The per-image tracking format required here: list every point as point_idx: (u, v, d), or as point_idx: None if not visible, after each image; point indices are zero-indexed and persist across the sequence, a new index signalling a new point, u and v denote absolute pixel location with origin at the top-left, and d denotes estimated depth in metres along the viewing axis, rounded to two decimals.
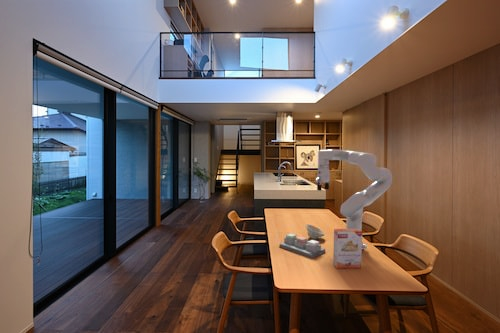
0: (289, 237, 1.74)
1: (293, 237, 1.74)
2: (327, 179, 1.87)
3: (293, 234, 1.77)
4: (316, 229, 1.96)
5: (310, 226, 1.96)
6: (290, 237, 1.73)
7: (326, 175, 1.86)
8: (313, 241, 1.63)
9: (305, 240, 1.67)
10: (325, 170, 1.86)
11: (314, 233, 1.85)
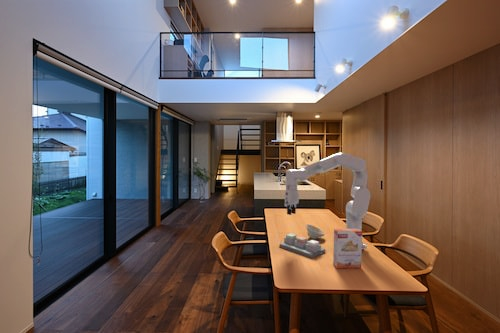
0: (289, 237, 1.74)
1: (293, 237, 1.74)
2: (295, 201, 1.74)
3: (293, 234, 1.77)
4: (316, 229, 1.96)
5: (310, 226, 1.96)
6: (290, 237, 1.73)
7: (294, 197, 1.73)
8: (313, 241, 1.63)
9: (305, 240, 1.67)
10: (293, 192, 1.72)
11: (314, 233, 1.85)
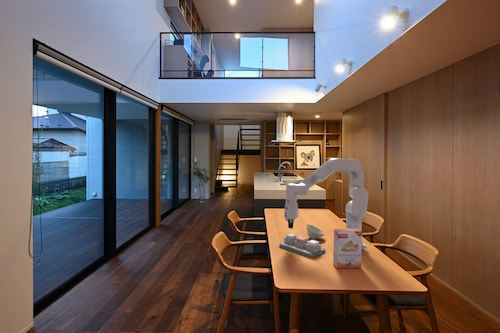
0: (289, 237, 1.74)
1: (293, 237, 1.74)
2: (295, 215, 1.74)
3: (293, 234, 1.77)
4: (316, 229, 1.96)
5: (310, 226, 1.96)
6: (290, 237, 1.73)
7: (294, 211, 1.73)
8: (313, 241, 1.63)
9: (305, 240, 1.67)
10: (293, 206, 1.72)
11: (314, 233, 1.85)
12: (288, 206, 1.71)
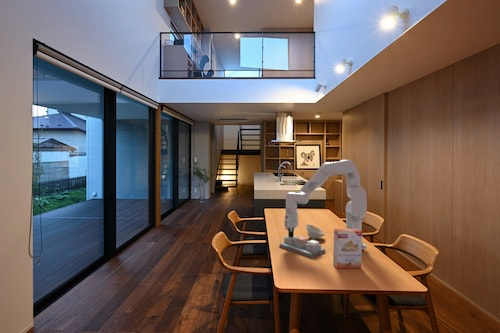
0: None
1: None
2: (295, 224, 1.74)
3: None
4: (316, 229, 1.96)
5: (310, 226, 1.96)
6: None
7: (294, 220, 1.73)
8: (313, 241, 1.63)
9: (305, 240, 1.67)
10: (293, 215, 1.73)
11: (314, 233, 1.85)
12: (288, 215, 1.71)
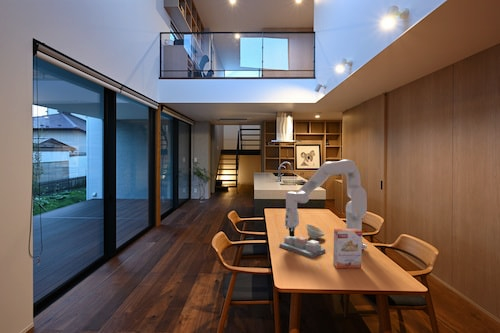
0: None
1: None
2: (296, 223, 1.74)
3: (293, 237, 1.77)
4: (316, 229, 1.96)
5: (310, 226, 1.96)
6: None
7: (294, 219, 1.73)
8: (313, 241, 1.63)
9: (305, 240, 1.67)
10: (293, 214, 1.73)
11: (314, 233, 1.85)
12: (288, 214, 1.71)
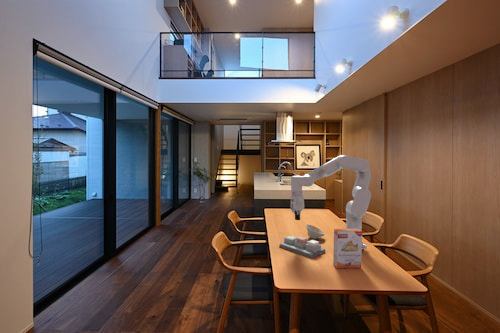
0: None
1: None
2: (301, 207, 1.76)
3: (293, 237, 1.77)
4: (316, 229, 1.96)
5: (310, 226, 1.96)
6: None
7: (300, 203, 1.75)
8: (313, 241, 1.63)
9: (305, 240, 1.67)
10: (299, 198, 1.74)
11: (314, 233, 1.85)
12: (294, 198, 1.73)
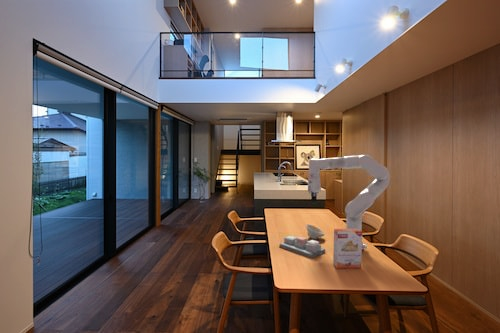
0: None
1: None
2: (318, 189, 1.82)
3: (293, 237, 1.77)
4: (316, 229, 1.96)
5: (310, 226, 1.96)
6: None
7: (317, 185, 1.81)
8: (313, 241, 1.63)
9: (305, 240, 1.67)
10: (316, 180, 1.80)
11: (314, 233, 1.85)
12: (312, 180, 1.79)
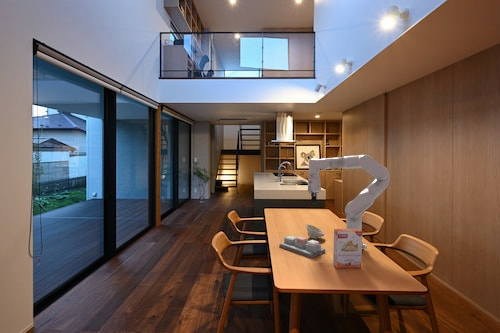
0: None
1: None
2: (318, 189, 1.82)
3: (293, 237, 1.77)
4: (316, 229, 1.96)
5: (310, 226, 1.96)
6: None
7: (317, 185, 1.81)
8: (313, 241, 1.63)
9: (305, 240, 1.67)
10: (316, 180, 1.80)
11: (314, 233, 1.85)
12: (312, 180, 1.79)
